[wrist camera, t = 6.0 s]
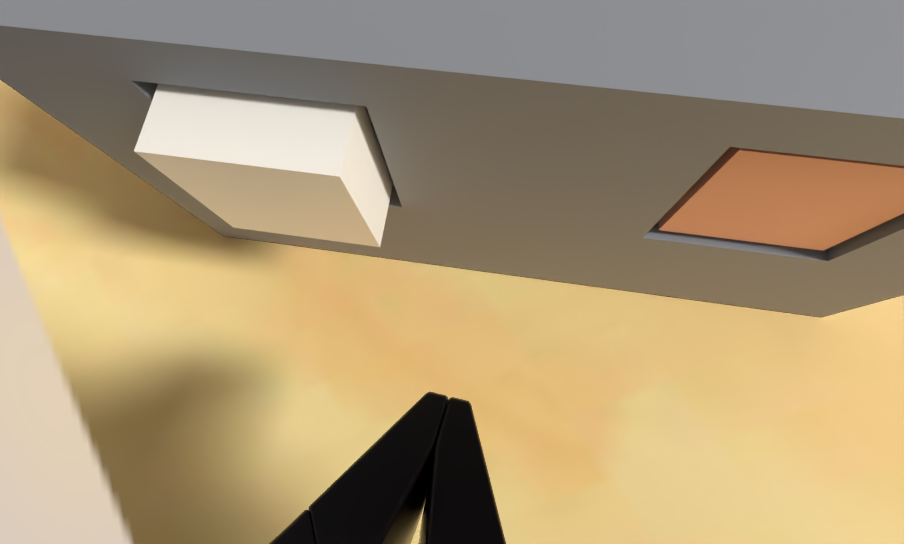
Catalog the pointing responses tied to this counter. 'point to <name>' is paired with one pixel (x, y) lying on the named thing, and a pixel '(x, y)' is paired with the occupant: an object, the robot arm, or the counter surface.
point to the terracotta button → (788, 199)
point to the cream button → (272, 161)
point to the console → (521, 120)
